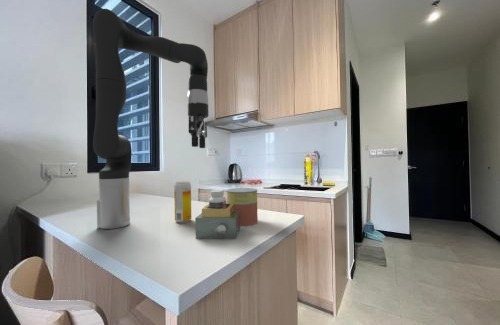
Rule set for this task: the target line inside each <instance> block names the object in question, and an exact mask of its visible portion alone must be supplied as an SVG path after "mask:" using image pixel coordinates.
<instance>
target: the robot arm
mask: <svg viewBox="0 0 500 325" xmlns="http://www.w3.org/2000/svg"><path fill="white" fill-rule="evenodd" d="M92 29H93V30H92V31H93V38H94V46H95V123H94V131H93V138H92V148H93V152H94V153H95V155H96V156H97V157H98V158H100V159H103V160H106V161H105V165H104V167H103V168H101V169H100V170H99V172H98V188H99V189H98V190H99V191H98V196H99V197H98V198H99V199H98V200H96V221H97V222H96V223H97V224H96V225H97V226H96V227H97V228H98V229H102V230H110V229H111V230H113V229H118V228H123V227H126V226H128V225H130V224H131V215H130V214H131V212H130V210H131V206H130V205H131V204H130V203H131V202H130V172H131V170H132V153H133V152H132V150H133V149H132V144H131V141H130V140H129V139H128V137H126V136H124V135H121V134H119V117H120V114H121V112H122V110H123V108H124V106H125V104H126V100H127V78H126V74H125V71H124V67H123V64H122V61H121V57H120V51H119V49H122V50H123V49H124V50H129V51H135V52H138V53H139V52H140V53H144V54H147V55H151V56H154V57H158V58H159V59H162V60H165V61H168V62H171V63H173V64H180V63H181V62H182V63H186V64H188V66H189V77H188V80H187V116H188V134H189V135H190V136H191V147H193V148H196V147H197V148H198V147H199V149H205V148H206V138H208V128H207V127H208V124H207V122H205V119H207V118H208V117H209V95H208V72H209V71H208V70H209V67H208V59H207V55H206V52H205V51H204V50H203V48H202V47H200V46H198V45H196V44H191V43H184V42H183V43H180V42H177V41H174V40H172V39H169V38H167V37H162V36H155V35H153V36H151V35H150V36H148V35H142V34H139V33H136V32H135V31H133V30H131V29H129V28H128V27H127V26H126V24H125V23H124V22H123V20H122V19H121V18H120V17H119V16H118V15H117V14H116V13H115V12H114V11H112V10H110V9H108V8H102V9H101V8H100V9H99V10H97V11H96V12H95V13H94V16H93V18H92Z"/></svg>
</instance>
